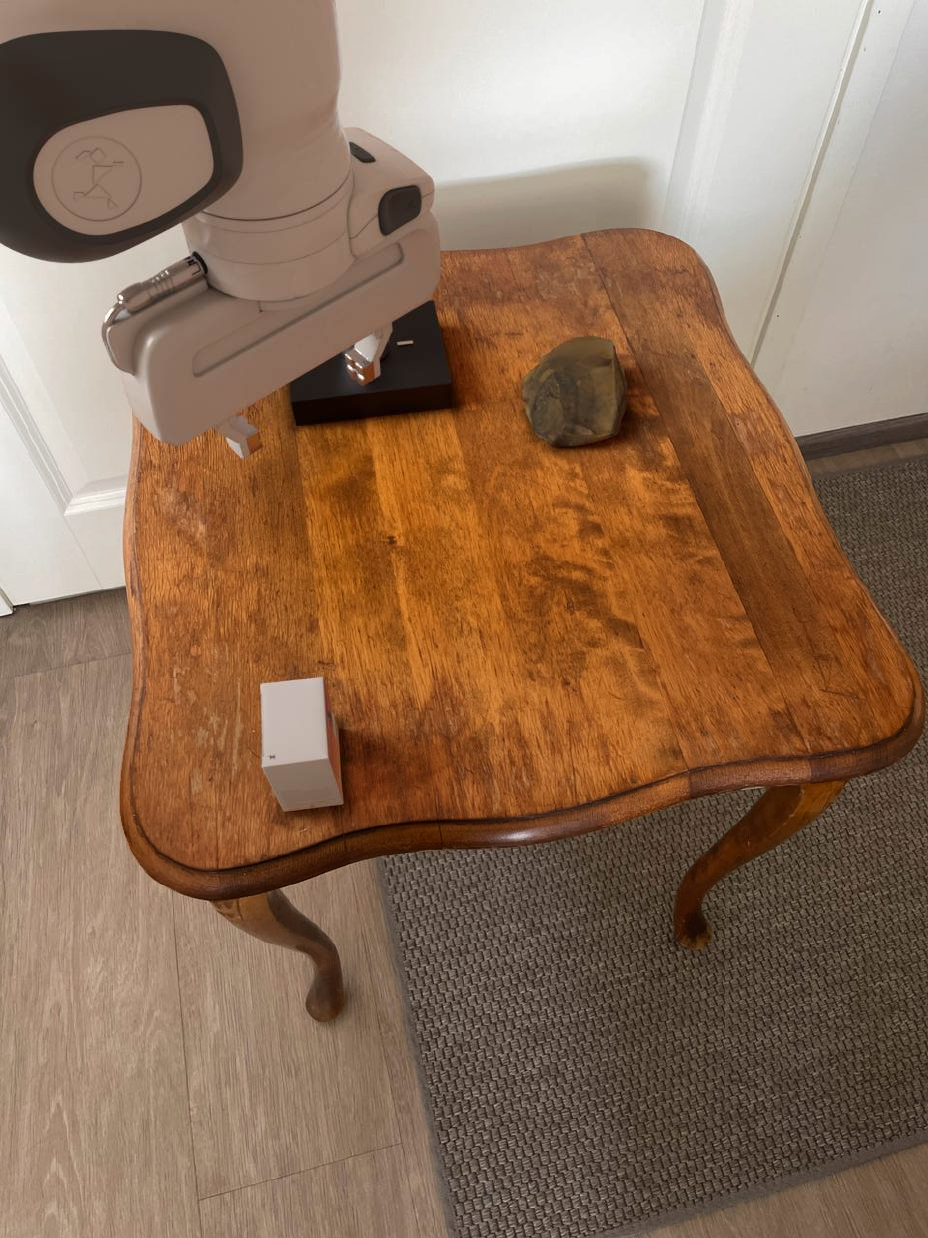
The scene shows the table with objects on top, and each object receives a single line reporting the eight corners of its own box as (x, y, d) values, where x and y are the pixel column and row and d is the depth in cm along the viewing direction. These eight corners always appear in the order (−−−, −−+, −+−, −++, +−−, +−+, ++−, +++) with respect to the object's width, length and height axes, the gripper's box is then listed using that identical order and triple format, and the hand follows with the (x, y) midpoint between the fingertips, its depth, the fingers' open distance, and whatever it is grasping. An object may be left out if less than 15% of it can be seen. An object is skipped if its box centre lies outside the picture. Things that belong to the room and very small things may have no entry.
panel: (295, 426, 80) (290, 400, 77) (288, 340, 86) (282, 313, 83) (452, 407, 81) (452, 381, 78) (434, 325, 87) (433, 298, 84)
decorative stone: (638, 446, 79) (646, 417, 76) (532, 453, 78) (535, 425, 75) (615, 361, 84) (621, 331, 81) (515, 368, 84) (518, 338, 81)
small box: (344, 806, 62) (330, 761, 55) (282, 813, 61) (260, 769, 55) (339, 726, 65) (325, 674, 58) (280, 733, 65) (259, 681, 58)
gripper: (125, 344, 41) (197, 527, 53) (458, 168, 49) (456, 363, 60) (56, 275, 44) (139, 465, 55) (383, 117, 51) (395, 315, 63)
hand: (306, 411), depth 58 cm, fingers open, 8 cm apart
